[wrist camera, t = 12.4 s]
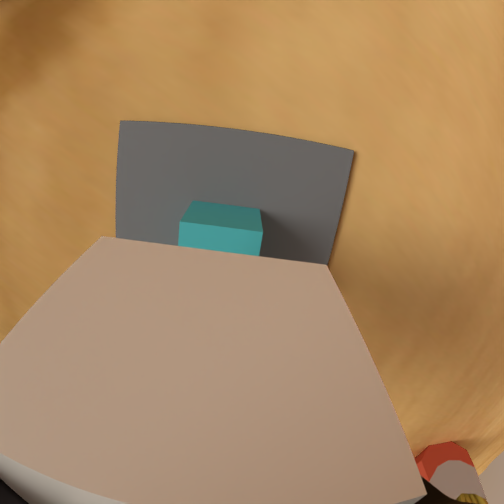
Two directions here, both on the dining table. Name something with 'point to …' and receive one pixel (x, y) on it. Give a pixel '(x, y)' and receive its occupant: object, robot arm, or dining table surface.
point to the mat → (230, 184)
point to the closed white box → (196, 386)
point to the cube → (221, 228)
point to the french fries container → (451, 472)
